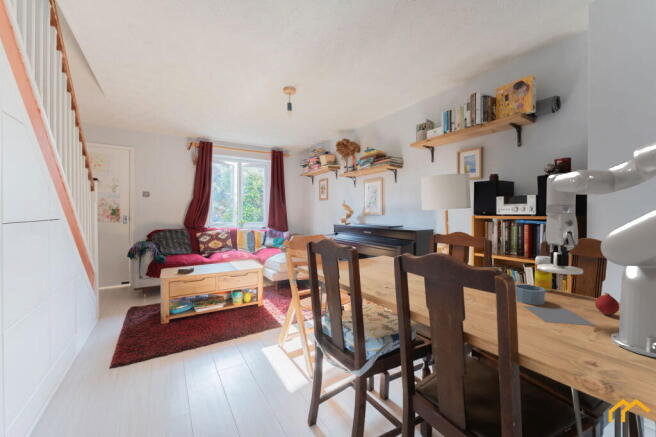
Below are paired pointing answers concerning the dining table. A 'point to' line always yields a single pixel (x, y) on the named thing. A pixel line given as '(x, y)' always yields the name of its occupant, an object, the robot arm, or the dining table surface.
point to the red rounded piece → (607, 304)
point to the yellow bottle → (543, 274)
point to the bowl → (530, 294)
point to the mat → (558, 315)
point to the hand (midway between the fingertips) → (559, 264)
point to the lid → (559, 268)
